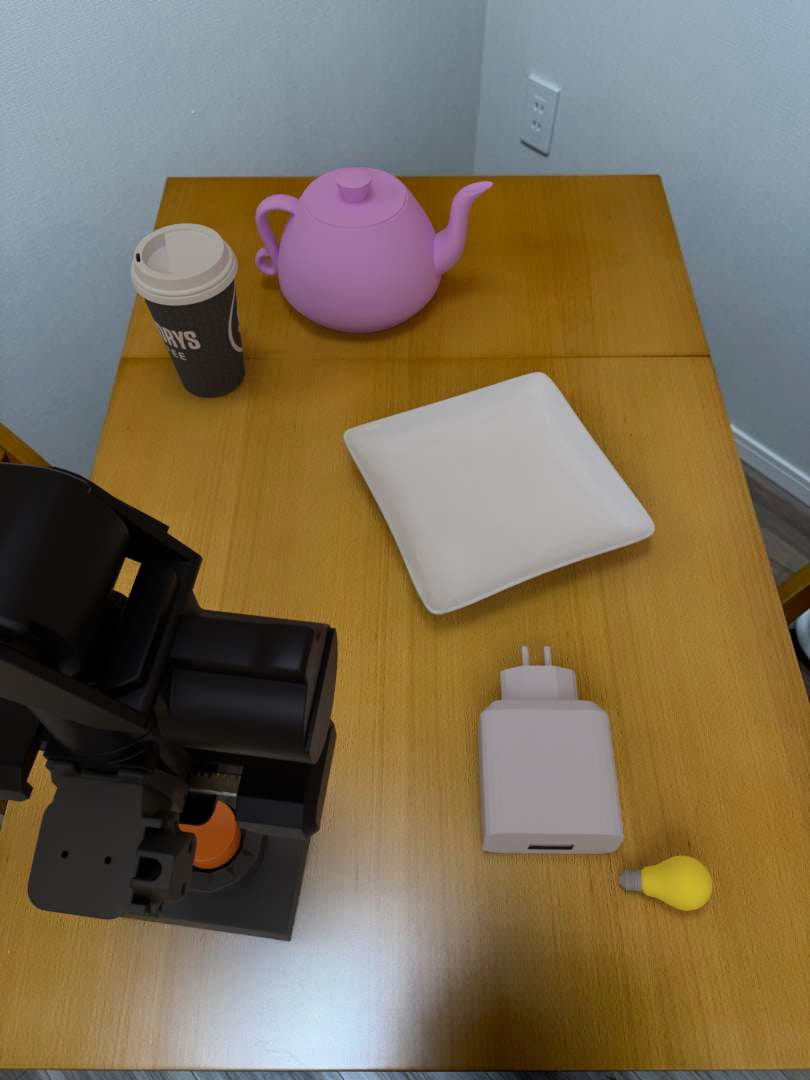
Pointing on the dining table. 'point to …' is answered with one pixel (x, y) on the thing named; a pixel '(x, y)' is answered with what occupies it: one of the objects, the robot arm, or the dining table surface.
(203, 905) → the switch base
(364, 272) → the teapot
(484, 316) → the dining table surface
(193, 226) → the coffee cup
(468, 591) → the plate
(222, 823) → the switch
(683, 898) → the light bulb
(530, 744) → the charger
